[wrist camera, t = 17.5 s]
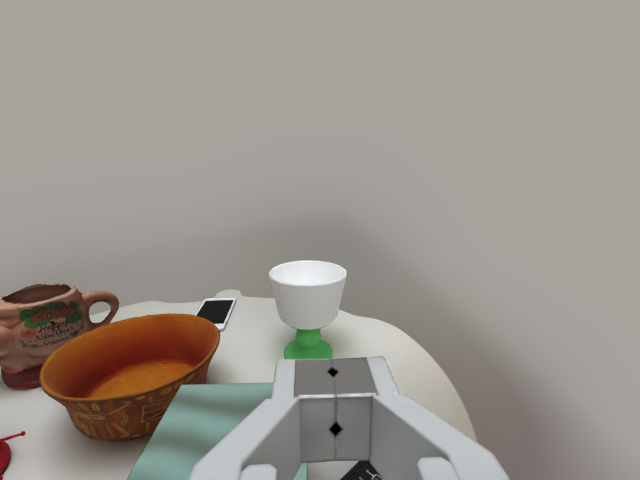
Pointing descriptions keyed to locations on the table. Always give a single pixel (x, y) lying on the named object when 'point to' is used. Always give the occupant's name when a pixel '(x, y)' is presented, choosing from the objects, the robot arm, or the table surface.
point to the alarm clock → (6, 452)
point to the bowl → (129, 372)
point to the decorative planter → (43, 327)
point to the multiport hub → (362, 472)
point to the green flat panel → (198, 428)
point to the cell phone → (216, 311)
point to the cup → (307, 303)
